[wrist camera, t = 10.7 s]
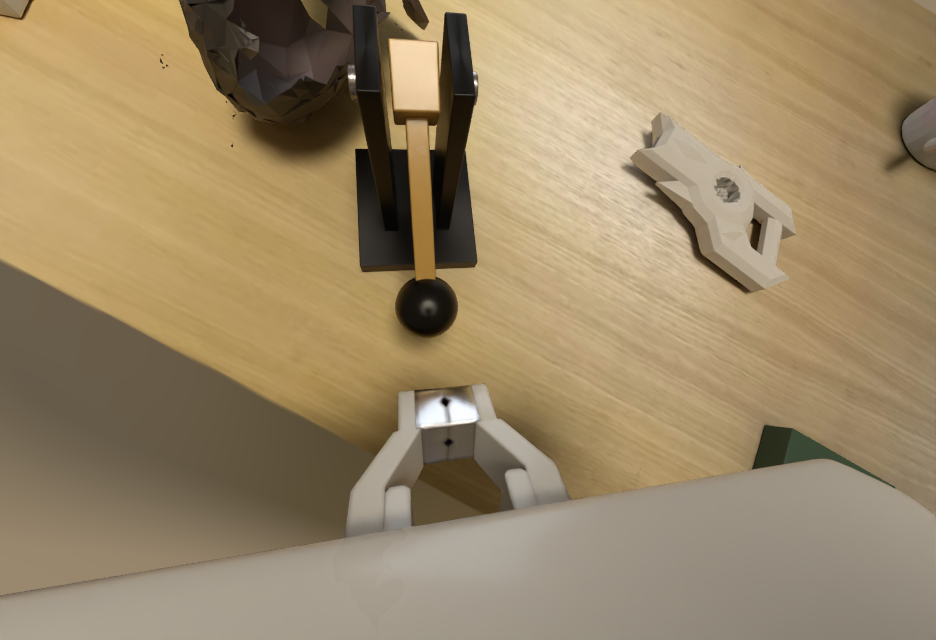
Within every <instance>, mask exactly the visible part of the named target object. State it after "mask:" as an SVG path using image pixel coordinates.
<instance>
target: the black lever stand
mask: <svg viewBox="0 0 936 640" xmlns="http://www.w3.org/2000/svg"><path fill="white" fill-rule="evenodd" d="M352 12H353V36H354V59H355V65H347V78H348V86H349V91H350V96H351V99H352V101H358V103H359V108H360V113H361V118H362V122H363V127H364V132H365V137H366V141H367V146H368V149H355V155H356V179H357V204H358V228H359V252H360V267H361V269H362V271H363V272H368V271H391V270H414V269H415V264H414V249H413V234H412V218H411V203H410V187H409V172H408V156H407V150H401V149H392V147H391V138H390V129H389V120H388V111H387V102H386V93H385V84H384V75H383V66H382V57H381V48H380V39H379V30H378V21H377V12H376V7H375V6H368V5H356V4H353V5H352ZM477 97H478V75H477V72H475V71H473V67H472V58H471V50H470V42H469V33H468V25H467V16H466V14H463V13H451V12H446V13H445V17H444V31H443V45H442V59H441V73H440V104H441V112H440V115H439V118H438V121H437V128H436V142H435V150H430V168H431V189H432V211H433V232H434V254H435V269H438V268H461V267H475V265H476V263H477V254H476V245H475V235H474V226H473V217H472V208H471V198H470V189H469V180H468V171H467V161H466V152H465V148H466V143H467V138H468V133H469V128H470V123H471V118H472V113H473V108H474V106H475V105H476V102H477Z"/></svg>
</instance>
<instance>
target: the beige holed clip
mask: <svg viewBox="0 0 936 640" xmlns="http://www.w3.org/2000/svg"><path fill="white" fill-rule="evenodd" d="M651 122H652V147H651V148H647V149H640V150H637V151H636V152H635V153H634V154H633V155H632V156H631V157H630V159H631V160H632V162H633V163H634V164H635V165H636V166H637V167H638V168H640V169H641V170H642V171H644V172H645V173H646V174H648V175H649V176H650V177H652V178H653V179H654V180H655V181H657V183H655V185H656V186H658V187H659V188H660V189H661V190H662V191H663V192H664V193H665V194H666V195H667V196H668V197H669V198H670V199H671V200H672V201H674V202H675V203H676V204H677V205H678V206H679V207H680V208H681V209H682V212H683V214H684V215H685V216H686V217H687V219H688V220H689V221H690V222H691V223H692V224H693V226H694V227H695V231H696V235H697V240H698V244H699V248H700V252H701V253H702V254H703V255H704V256H705V257H706V258H708V259H709V260H710V261H712V262H713V263H714V264H716V265H717V266H718V267H720V268H721V269H722V270H724V271H725V272H726V273H728V274H729V275H730V276H732V277H733V278H734V279H736V280H737V281H738V282H740V283H741V284H742V285H744V286H745V287H746V288H748V289H749V290H750V291H752V292H754V291H758V290H763V289H766V288H769V287H771V286H774V285H776V284H779V283H781V282H784V281H786V280H789V279H790V278H789V277H788V276H787V275H786V273H784V272H783V271H782V270H780V269H779V268H778V267H776V262H777V257H778V251H779V245H780V239H785V238H788V237H790V236H793V235H796V234H795V228H794V222H793V217H792V211H791V208H790V207H789V206H788V205H787V204H785V203H784V202H783V201H782V200H780V199H779V198H778V197H776V196H775V195H774V194H773V193H771V192H770V191H769V190H767V189H766V188H765V187H764V186H762V185H761V184H760V183H759V182H757V181H756V180H755V179H753V178H752V177H751V176H750V175H749V174H748V173H747V171H746V170H745V169H744V168H743V167H742V166H741V165H739V167H738V166H736V165H734V164H732V163H730V162H727V161H725V160H724V159H722V158H721V157H720V156H718V155H717V154H716V153H715V152H713V151H712V150H711V149H709V148H708V147H707V146H706V145H704V144H703V143H702V142H700V141H699V140H698V139H697V138H695V137H694V136H693V135H692V134H690V133H689V132H688V131H686V130H685V129H684V128H683V127H681V126H680V125H679V124H678V123H677V122H676V121H674V120H673V119H672V118H670V117H669V116H666V115H664V114H662V113H661V112H660V113H659V114H658V115H657V116H656V117H655V118H654V119H653V120H652V121H651ZM752 218H754V219H755V220H757V221H758V222H759V223H760V224H762V226H761V232H760V237H759V243H758V249H757V251H755V250H754V249H753V248H751V245H750V242H749V239H748V236H747V233H746V229H747V227H748V225H749V223H750V222H751V220H752Z"/></svg>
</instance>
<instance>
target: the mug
mask: <svg viewBox="0 0 936 640" xmlns="http://www.w3.org/2000/svg"><path fill="white" fill-rule="evenodd" d="M902 136H903V140H904V142H905V145H906V147H907V149H908V150H909V152H910V153H911V154H912V155H913V157H914V158H915V159H916V160H917V161H919V162H920V163H922V164H923V165H925V166H926V167H929V168H931V169H934V170H936V97H935V98H933V99H932V100H930V101H929V102H927V103H926V104H924V105H923V106H921V107H920V108H919V109H917V110H916V111H914V112H913V113H911V114H910V115H909V116H908V117H907V118H906V119H905V120H904V122H903V126H902Z"/></svg>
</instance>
